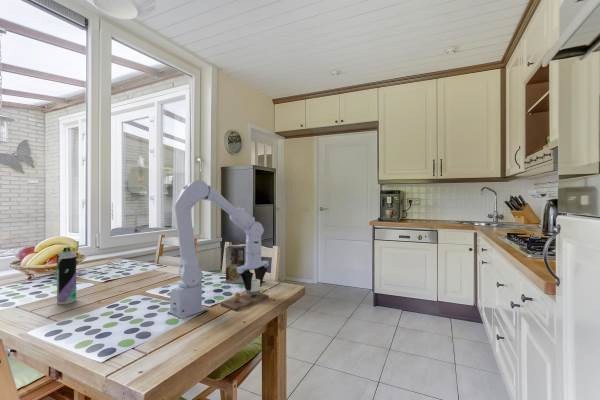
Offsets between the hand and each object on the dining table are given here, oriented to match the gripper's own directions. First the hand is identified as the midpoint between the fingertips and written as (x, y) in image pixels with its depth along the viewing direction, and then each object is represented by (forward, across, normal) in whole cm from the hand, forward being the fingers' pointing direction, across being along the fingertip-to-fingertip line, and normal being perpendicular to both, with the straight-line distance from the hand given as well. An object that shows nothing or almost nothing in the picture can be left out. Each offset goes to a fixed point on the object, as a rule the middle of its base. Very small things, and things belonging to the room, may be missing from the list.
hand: (253, 288), depth 106 cm
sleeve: (+2, 0, 0) cm, 2 cm away
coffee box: (+4, -11, -22) cm, 25 cm away
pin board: (+4, +4, 0) cm, 6 cm away
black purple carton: (+4, +44, -52) cm, 69 cm away
